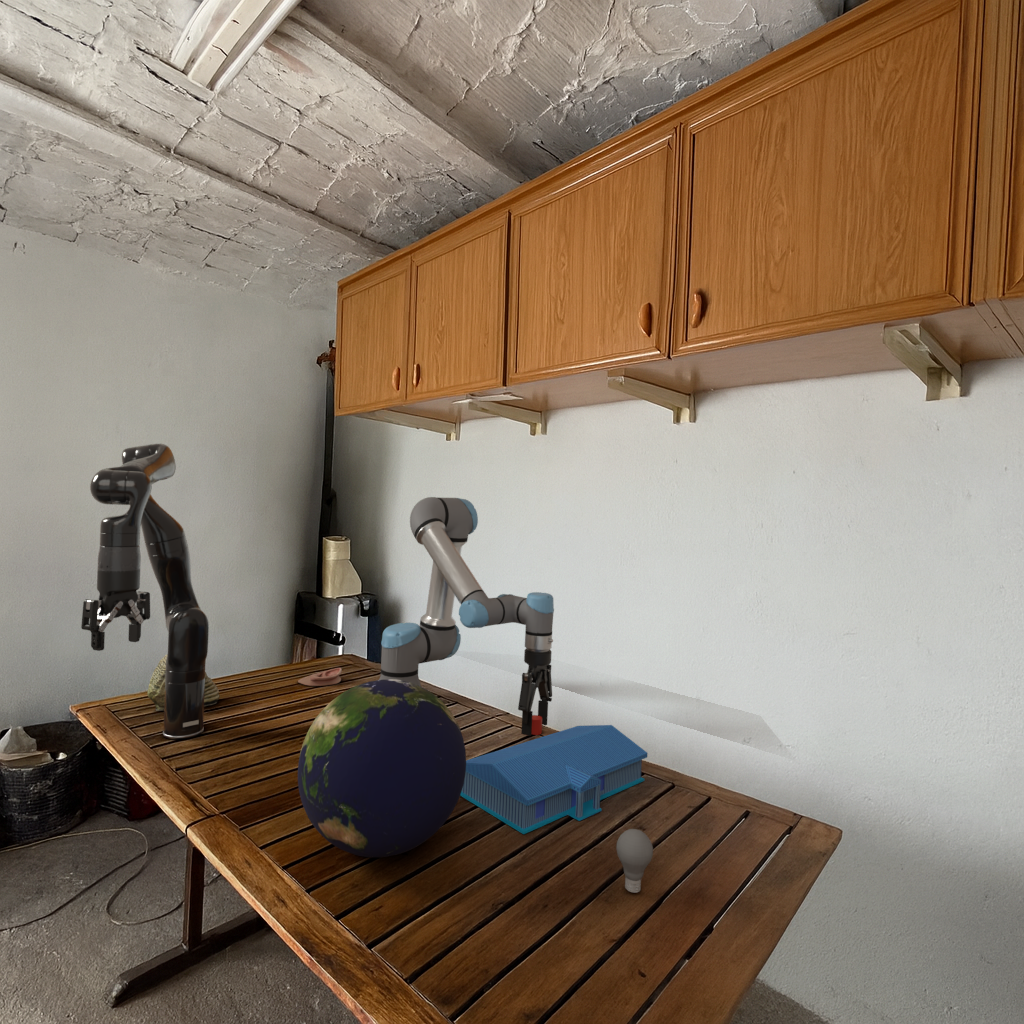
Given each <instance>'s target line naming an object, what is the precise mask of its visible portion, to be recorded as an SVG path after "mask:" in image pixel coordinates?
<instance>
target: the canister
mask: <svg viewBox="0 0 1024 1024" xmlns="http://www.w3.org/2000/svg"><path fill="white" fill-rule="evenodd" d="M542 730H543V725H542V717H541V716H538V714H537V715H536V714H532V735H533V736H540V735H542V732H543V731H542ZM532 735H531V736H532Z"/></svg>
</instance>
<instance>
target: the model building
mask: <svg viewBox="0 0 1024 1024" xmlns="http://www.w3.org/2000/svg"><path fill="white" fill-rule="evenodd" d="M648 755H649V754H648V751H646V750H644V749H643V748H642V747H640V746H639V744H637V743H635V742H634V741H633V740H632V739H630V738H629V736H626V734H624V733H623V732H621V731H620V730H619V729H618V728H616V727H615V726H614V725H612V724H596V725H595V724H592V725H576V726H574V727H569V728H566V729H564V730H560V731H556V732H553V733H550V734H548V735H544V736H541V737H537V738H534V739H530V740H528V741H524V742H521V743H518V744H514V745H511V746H509V747H505V748H502V749H499V750H496V751H492V752H489V753H485V754H482V755H479V756H476V757H473V758H470V759H466V773H465V779H464V784H463V788H462V791H461V794H460V797H462V798H463V799H465V800H466V801H468V802H470V803H471V804H472V805H475V806H476V807H478V808H479V809H481V810H483V811H485V812H486V813H487V814H490V815H491V816H493V817H494V818H495V819H498V820H499V821H501V822H502V823H503V824H506V825H508V826H509V827H511V828H512V829H514V830H515V831H517V832H519V834H522V835H526V834H528V833H530V832H533V831H535V830H537V829H540V828H542V827H544V826H546V825H548V824H550V823H552V822H556V821H557V820H559V819H562V818H563V817H566V816H569V817H571V818H573V819H574V820H576V821H578V822H581V821H583V820H585V819H587V818H589V817H592V816H594V815H596V814H598V813H600V812H602V808H601V801H602V800H604V799H606V798H609V797H611V796H613V795H616V794H617V793H620V792H622V791H624V790H627V789H629V788H631V787H634V786H636V785H639V784H641V783H642V782H645V781H646V780H645V778H644V777H642V763H643V762H642V761H643V760H645V759H647V758H648Z"/></svg>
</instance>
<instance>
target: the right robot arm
mask: <svg viewBox="0 0 1024 1024" xmlns="http://www.w3.org/2000/svg"><path fill="white" fill-rule="evenodd" d="M478 524H479V516H478V511H477V509H476V508H475V505H474V504H473V503H472V502H471V501H469V500H468V499H466V498H460V497H436V496H428V497H425V498H423V499H421V500H419V501H418V502H417V503H415V505H414V506H413V508H412V510H411V512H410V516H409V527H410V530H411V533H412V536H413V537H414V538H415V541H416V542H417V543H418V544H419V545H422V546H423V547H424V549H425V550H426V552H427V553H428V555H429V556H430V558H431V559H432V566H431V573H430V582H429V587H428V588H429V589H428V596H427V603H426V609H425V613H424V614H423V615H422V616H420V620H419V624H418V623H416V622H415V623H414V622H404V623H403V622H400V623H394V624H391V625H389V626H387V627H386V628H385V629H384V630H383V632H382V635H381V642H380V643H381V655H380V656H381V658H380V675H379V679H378V680H387V679H396V680H402V681H406V682H410V683H413V684H416V685H418V686H420V687H422V684H421V681H420V678H419V664H424V663H430V662H431V663H432V662H435V661H443V660H445V659H449V658H452V657H453V656H455V655H456V653H458V651H459V648H460V646H461V643H462V642H461V640H462V638H461V633H460V629H459V627H458V625H457V624H456V620H455V618H454V617H453V612H454V606H455V598H456V600H457V601H458V603H459V604H460V606H459V609H458V616H459V621H460V623H461V624H462V625H463V626H464V627H466V628H468V629H476V628H477V629H481V628H484V627H490V626H499V625H504V624H505V625H506V624H510V623H511V624H512V623H515V624H518V625H519V624H520V625H523V626H525V632H524V648H525V649H524V655H523V656H524V657H523V662H524V663H525V664H527V666H528V668H527V672H522V674H521V685H520V693H519V698H518V699H519V700H518V705H517V710H518V711H522V712H521V713H522V715H521V716H522V717H521V735H524V736H528V737H531V736H532V715H533V713H534V712H533V711H532V707H533V703H534V699H535V696H536V691H538V696H539V700H538V702H537V703H538V704H537V706H538V707H537V715H538V716H541V717H542V726H548V716H549V715H548V714H549V703H550V702H551V703H552V700H553V698H552V697H553V683H552V682H553V681H552V664H551V663H552V654H553V653H552V650H551V649H552V648H553V647H552V645H553V642H554V639H553V624H554V612H555V608H554V597H553V594H551V593H549V592H548V593H547V592H539V591H538V592H537V591H534V592H528V594H527V595H526V597H523V596H518V595H514V594H511V593H509V594H506V593H502V594H499V595H498V596H497V597H488V595H487V593H486V592H485V591H484V589H483V588H482V586H481V584H480V583H479V582H478V580H477V579H476V577H475V575H474V574H473V572H472V571H471V569H470V568H469V566H468V565H467V563H466V561H465V560H464V558H463V557H462V548H463V546H465V544H467V543H468V540H469V535H471V534H473V533H474V532H475V530H476V529H477V527H478Z"/></svg>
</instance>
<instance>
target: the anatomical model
mask: <svg viewBox="0 0 1024 1024" xmlns="http://www.w3.org/2000/svg"><path fill="white" fill-rule="evenodd" d="M342 671H343V669H342V667H335V668H331V669H328V670H324V671H320V672H317V673H313V674H310V675H308V676H304V677H302V678H300V679H298V680H297V683H299V684H301V685H305V686H309V687H316V686H317V687H321V686H331V685H336V684H339V683H340V682H341V681H342V678H341V676H340V675H342Z"/></svg>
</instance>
